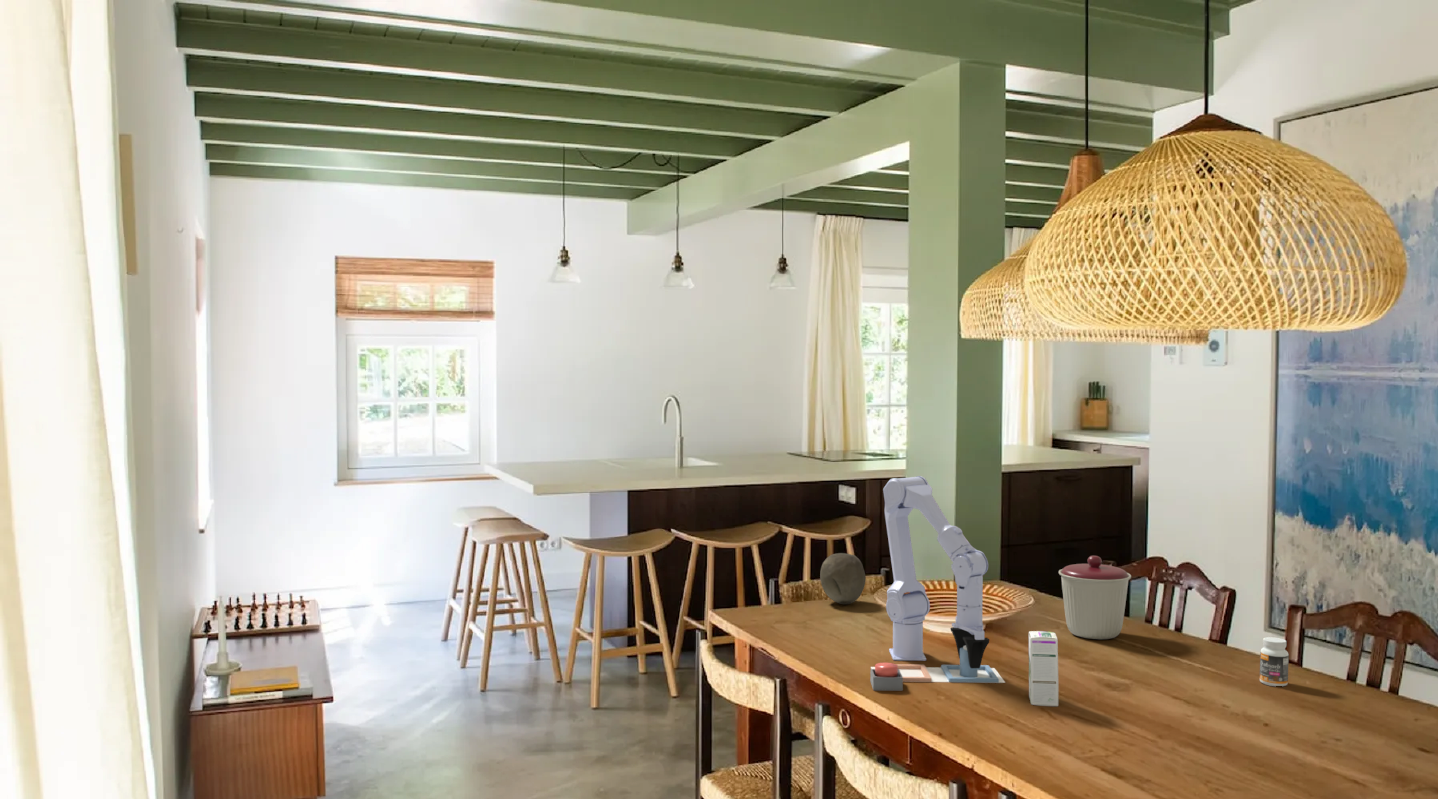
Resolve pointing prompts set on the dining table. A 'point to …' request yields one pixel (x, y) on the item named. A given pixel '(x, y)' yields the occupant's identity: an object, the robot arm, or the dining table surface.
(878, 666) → the button
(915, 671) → the sheet
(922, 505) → the robot arm
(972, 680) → the region blue
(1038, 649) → the syrup box
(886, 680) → the button base
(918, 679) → the region terracotta
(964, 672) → the blue cylinder
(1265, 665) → the pill bottle
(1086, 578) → the canister
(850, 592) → the grey boulder
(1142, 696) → the dining table surface
